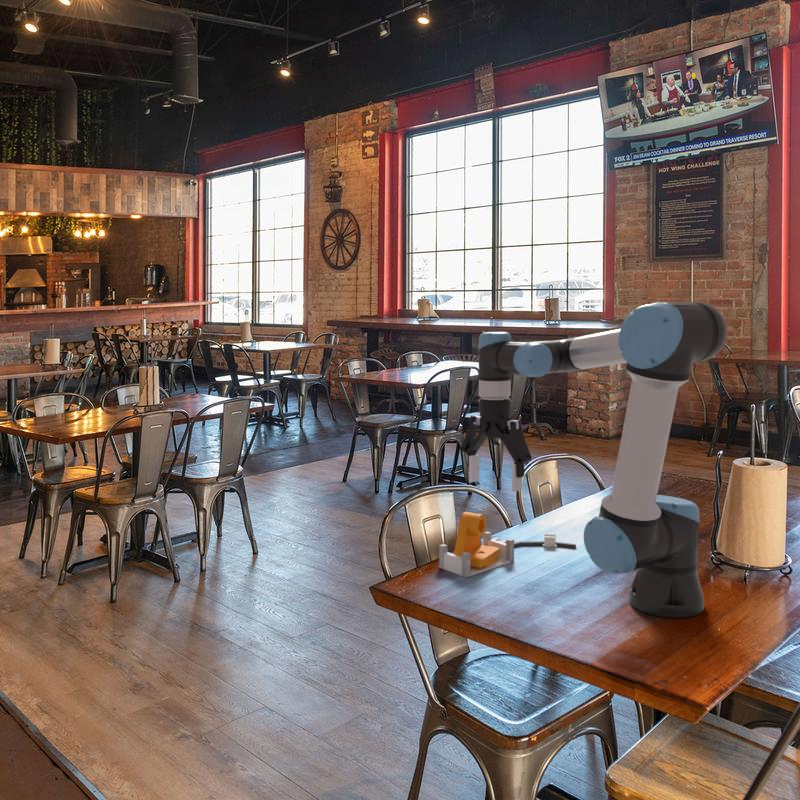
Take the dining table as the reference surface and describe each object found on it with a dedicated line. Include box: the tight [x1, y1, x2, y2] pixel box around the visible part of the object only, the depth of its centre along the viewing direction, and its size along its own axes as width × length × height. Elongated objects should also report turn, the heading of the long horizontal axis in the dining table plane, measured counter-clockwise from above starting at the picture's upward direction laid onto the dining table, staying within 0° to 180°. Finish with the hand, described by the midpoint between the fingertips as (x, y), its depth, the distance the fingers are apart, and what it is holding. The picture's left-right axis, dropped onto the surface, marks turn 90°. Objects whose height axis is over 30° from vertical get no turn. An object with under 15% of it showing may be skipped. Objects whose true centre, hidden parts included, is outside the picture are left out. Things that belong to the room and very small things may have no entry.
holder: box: [438, 531, 515, 578], centre depth 203 cm, size 9×17×6 cm, turn 131°
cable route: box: [492, 532, 577, 549], centre depth 216 cm, size 6×23×3 cm, turn 100°
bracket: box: [453, 511, 499, 568], centre depth 202 cm, size 11×7×12 cm
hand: (495, 486), depth 201 cm, fingers open, 13 cm apart
